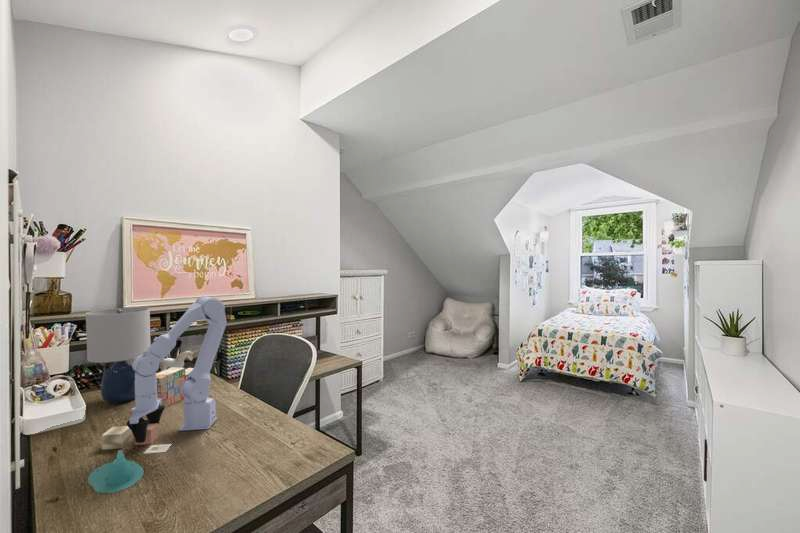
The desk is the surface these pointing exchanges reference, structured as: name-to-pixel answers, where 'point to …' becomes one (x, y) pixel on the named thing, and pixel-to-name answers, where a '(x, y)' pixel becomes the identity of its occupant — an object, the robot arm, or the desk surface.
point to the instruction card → (157, 448)
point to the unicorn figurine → (176, 360)
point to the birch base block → (116, 437)
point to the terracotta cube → (151, 434)
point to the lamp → (117, 347)
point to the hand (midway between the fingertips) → (147, 436)
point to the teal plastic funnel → (115, 475)
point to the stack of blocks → (171, 384)
